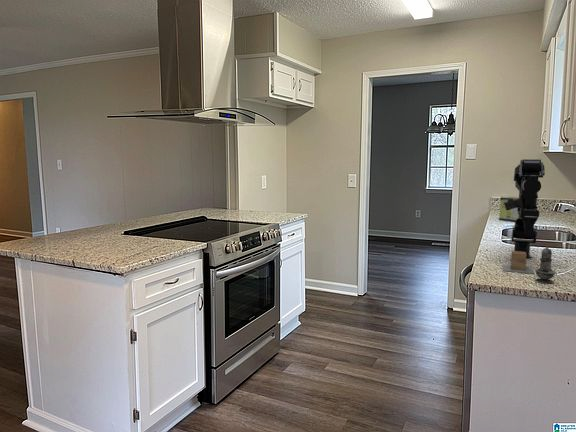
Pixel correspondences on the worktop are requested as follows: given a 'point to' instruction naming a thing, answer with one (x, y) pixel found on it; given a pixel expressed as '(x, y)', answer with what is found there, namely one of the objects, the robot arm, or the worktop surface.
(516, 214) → the protein box
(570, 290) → the worktop surface
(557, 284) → the worktop surface
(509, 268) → the slate coaster
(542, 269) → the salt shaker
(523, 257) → the walnut block
